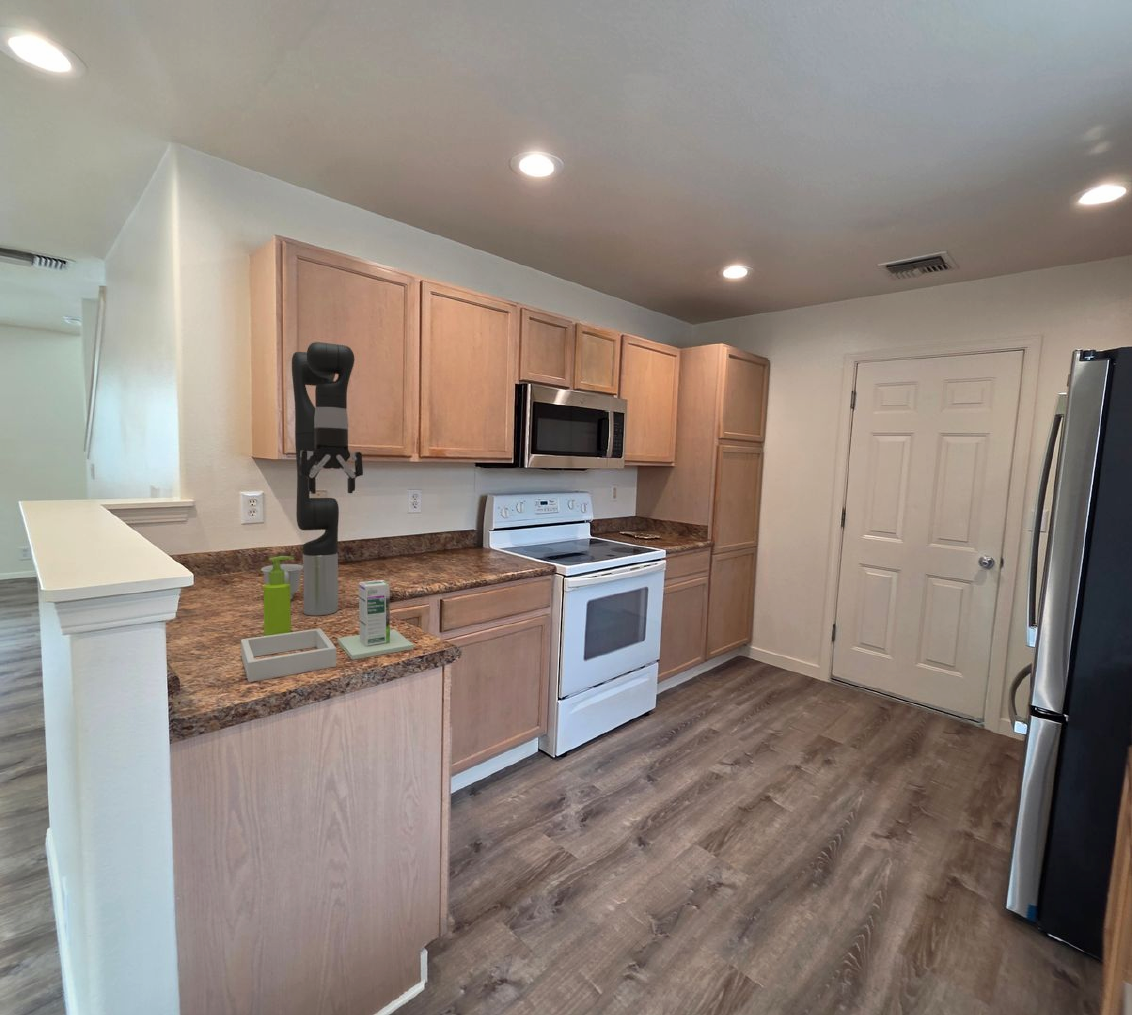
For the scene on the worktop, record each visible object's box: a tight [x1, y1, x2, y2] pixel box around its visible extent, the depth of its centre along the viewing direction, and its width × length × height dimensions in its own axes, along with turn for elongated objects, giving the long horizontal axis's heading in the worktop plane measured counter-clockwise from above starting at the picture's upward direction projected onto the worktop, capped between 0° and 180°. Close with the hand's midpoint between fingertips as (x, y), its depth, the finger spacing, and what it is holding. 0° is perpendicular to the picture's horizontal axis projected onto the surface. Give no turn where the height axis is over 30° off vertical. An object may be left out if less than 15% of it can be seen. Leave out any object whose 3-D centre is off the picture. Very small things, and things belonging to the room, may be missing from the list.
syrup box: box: [358, 579, 391, 646], centre depth 130 cm, size 6×6×14 cm
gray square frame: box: [240, 627, 337, 683], centre depth 118 cm, size 16×16×4 cm
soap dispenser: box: [262, 555, 295, 636], centre depth 135 cm, size 6×7×20 cm
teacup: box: [260, 563, 303, 600], centre depth 169 cm, size 12×15×10 cm
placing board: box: [337, 628, 415, 661], centre depth 130 cm, size 14×14×1 cm
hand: (331, 493), depth 133 cm, fingers open, 8 cm apart
